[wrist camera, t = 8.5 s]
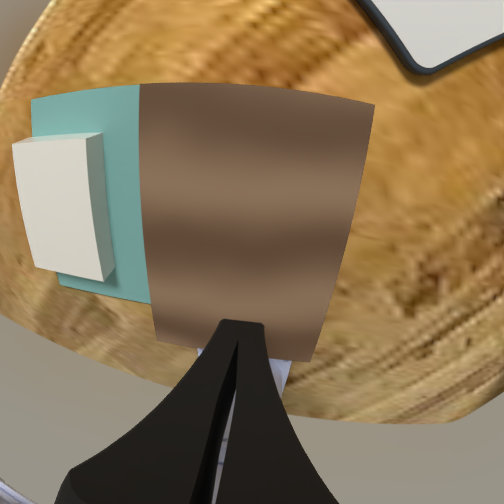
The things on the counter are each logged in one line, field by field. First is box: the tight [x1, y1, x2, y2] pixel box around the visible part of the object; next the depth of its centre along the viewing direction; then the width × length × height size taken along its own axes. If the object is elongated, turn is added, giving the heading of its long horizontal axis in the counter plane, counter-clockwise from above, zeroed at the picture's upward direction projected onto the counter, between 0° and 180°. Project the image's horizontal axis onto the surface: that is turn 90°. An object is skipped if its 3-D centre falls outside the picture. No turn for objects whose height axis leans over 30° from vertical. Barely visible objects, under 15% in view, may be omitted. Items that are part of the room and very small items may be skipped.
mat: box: [31, 85, 151, 304], centre depth 19 cm, size 16×10×1 cm, turn 175°
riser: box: [139, 83, 375, 362], centre depth 17 cm, size 16×10×4 cm, turn 175°
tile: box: [12, 132, 115, 282], centre depth 18 cm, size 10×7×2 cm
